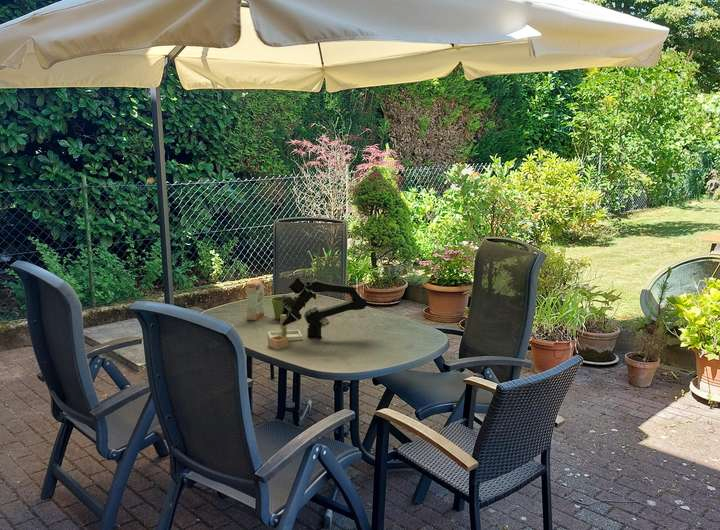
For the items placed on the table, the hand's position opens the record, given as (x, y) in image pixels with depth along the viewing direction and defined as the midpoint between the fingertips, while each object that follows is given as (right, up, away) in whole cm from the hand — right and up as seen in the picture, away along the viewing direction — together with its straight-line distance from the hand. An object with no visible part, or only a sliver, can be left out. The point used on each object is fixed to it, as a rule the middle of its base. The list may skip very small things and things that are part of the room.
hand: (280, 322), depth 306 cm
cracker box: (-20, -1, +43) cm, 48 cm away
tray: (+2, -8, +4) cm, 9 cm away
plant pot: (-5, -1, +42) cm, 42 cm away
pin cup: (0, -11, -9) cm, 14 cm away
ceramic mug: (+17, -3, +33) cm, 37 cm away
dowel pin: (+1, -8, +2) cm, 8 cm away
